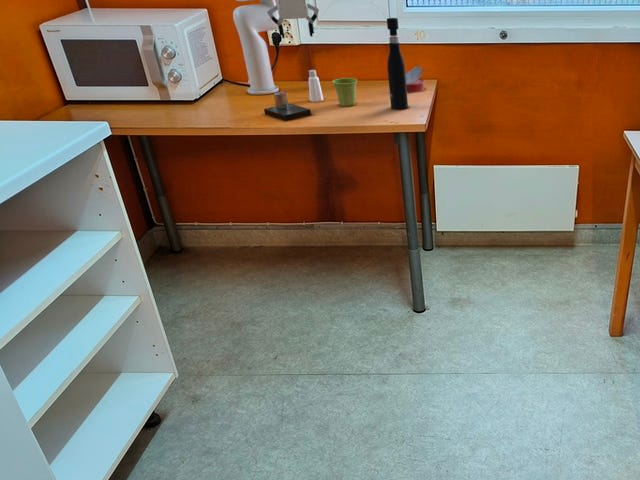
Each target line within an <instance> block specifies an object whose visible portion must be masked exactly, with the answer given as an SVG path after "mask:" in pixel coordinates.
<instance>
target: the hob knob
mask: <svg viewBox="0 0 640 480" xmlns="http://www.w3.org/2000/svg"><path fill="white" fill-rule="evenodd" d="M273 97H274V102H275V106H276V108H277V109H286V108H288V107H289V106H288V103H289V100H288V96H287V92H285V91H277V92H275V93H273Z"/></svg>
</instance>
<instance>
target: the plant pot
mask: <svg viewBox="0 0 640 480" xmlns="http://www.w3.org/2000/svg"><path fill="white" fill-rule="evenodd" d="M331 82H332V84H333V87H334V88H335V91H336V97H337V100H338V103H339V106H341V107H350V106H355V105H356V103H357V102H356V100H357V98H356V96H357V94H356V93H357V82H358V79H357V78H352V77H340V78H336V79H333V80H332V81H331Z"/></svg>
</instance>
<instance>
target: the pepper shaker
mask: <svg viewBox="0 0 640 480" xmlns="http://www.w3.org/2000/svg"><path fill="white" fill-rule="evenodd" d="M308 74H309V75H308V76H309V77H308V91H309V92H308V95H309V102H312V103H319V102H323V101H324V99H325V98H324V95H323V91H322V86H321V82H320V78H319V77H318V75H317V70H315V69H310V70H308Z"/></svg>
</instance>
